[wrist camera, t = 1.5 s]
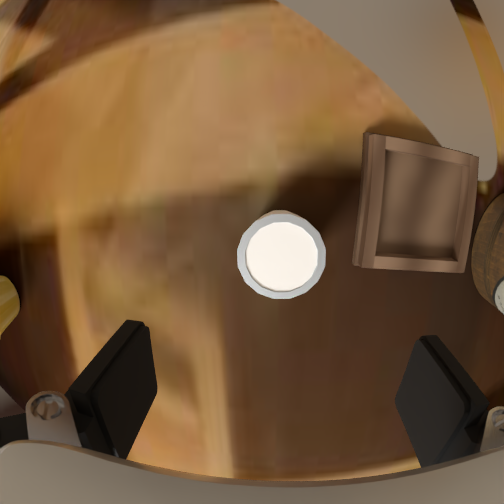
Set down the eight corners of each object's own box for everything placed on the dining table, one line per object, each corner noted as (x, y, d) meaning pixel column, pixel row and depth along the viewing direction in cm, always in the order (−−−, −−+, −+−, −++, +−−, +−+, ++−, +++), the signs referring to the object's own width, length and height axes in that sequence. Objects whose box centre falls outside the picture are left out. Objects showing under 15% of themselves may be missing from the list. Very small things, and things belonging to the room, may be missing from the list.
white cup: (251, 197, 29) (244, 206, 22) (321, 210, 29) (335, 222, 22) (240, 265, 31) (230, 291, 24) (307, 277, 31) (315, 306, 24)
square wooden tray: (468, 155, 26) (480, 154, 24) (454, 268, 29) (465, 275, 27) (363, 133, 27) (370, 130, 24) (351, 262, 30) (358, 270, 28)
